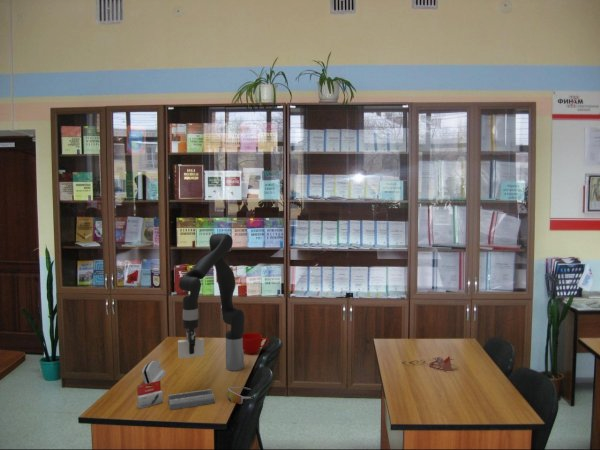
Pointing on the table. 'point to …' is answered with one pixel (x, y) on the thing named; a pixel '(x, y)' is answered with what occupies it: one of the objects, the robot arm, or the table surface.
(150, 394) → the ink cartridge box
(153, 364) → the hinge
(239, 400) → the sunglasses
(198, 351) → the door panel
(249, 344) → the ceramic cup
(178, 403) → the track
